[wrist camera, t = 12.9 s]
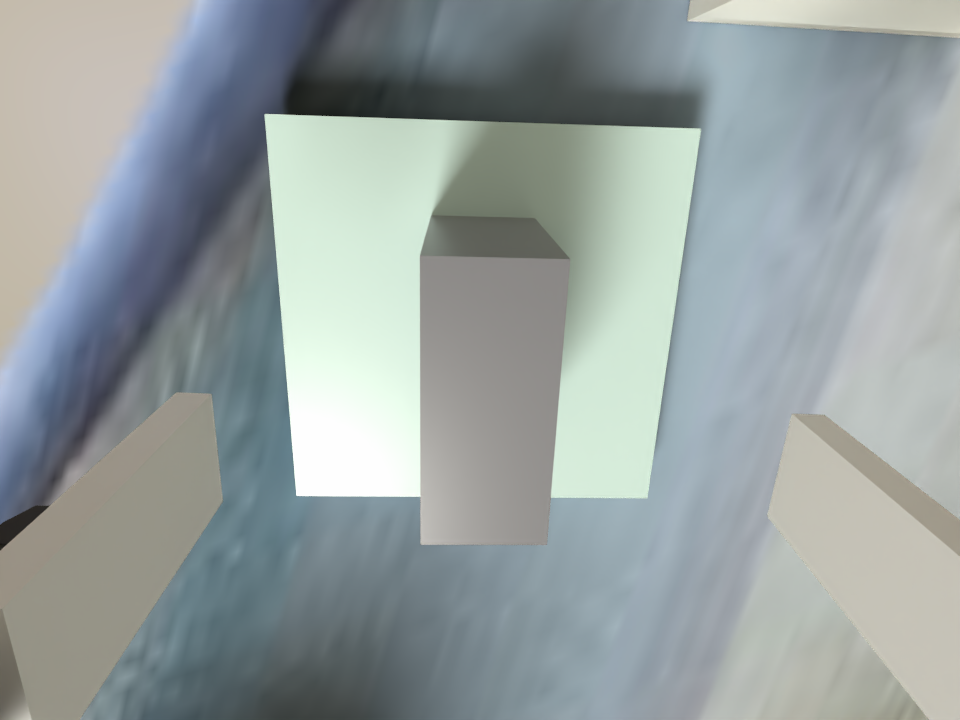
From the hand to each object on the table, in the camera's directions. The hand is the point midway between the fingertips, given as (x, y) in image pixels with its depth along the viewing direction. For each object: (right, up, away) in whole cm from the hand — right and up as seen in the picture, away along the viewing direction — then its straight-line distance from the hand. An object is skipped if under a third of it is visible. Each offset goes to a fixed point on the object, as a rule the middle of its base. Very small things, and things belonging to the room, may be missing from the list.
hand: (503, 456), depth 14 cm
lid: (-1, +4, +9) cm, 10 cm away
